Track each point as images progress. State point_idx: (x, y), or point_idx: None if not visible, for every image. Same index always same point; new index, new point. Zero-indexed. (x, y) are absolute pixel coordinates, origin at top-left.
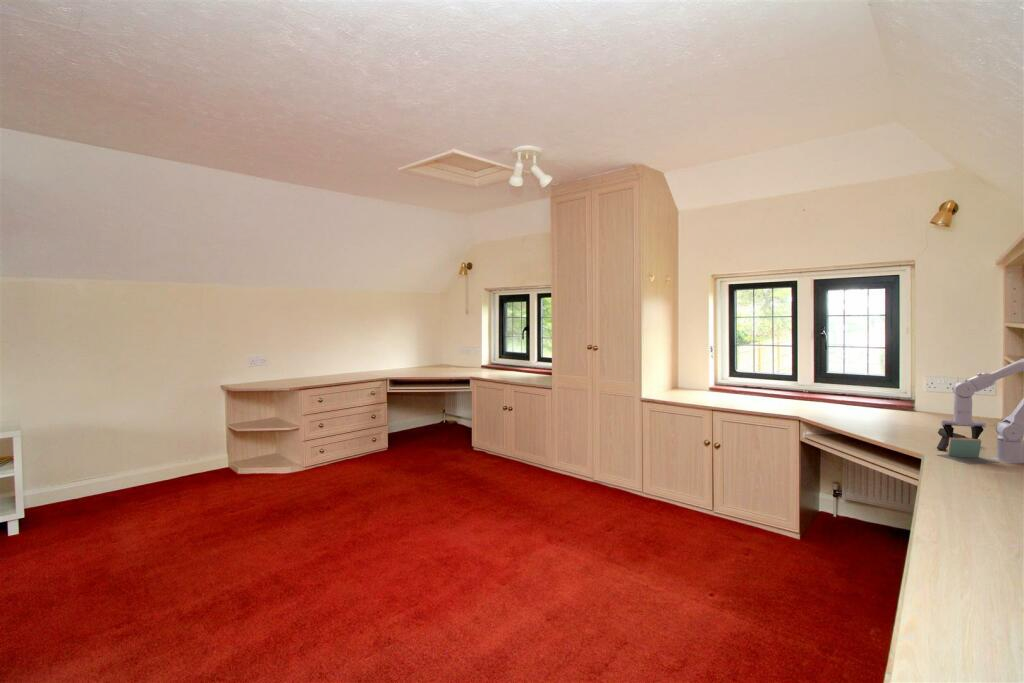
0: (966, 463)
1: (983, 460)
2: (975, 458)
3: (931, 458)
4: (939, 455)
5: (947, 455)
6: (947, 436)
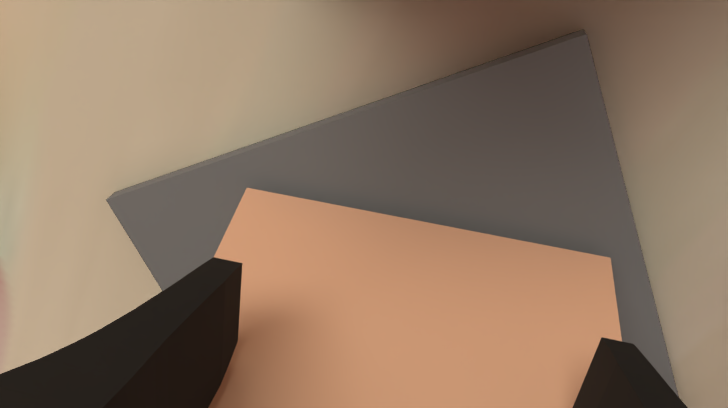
0: None
1: None
2: None
3: (45, 293)
4: (144, 219)
5: None
6: (139, 308)
